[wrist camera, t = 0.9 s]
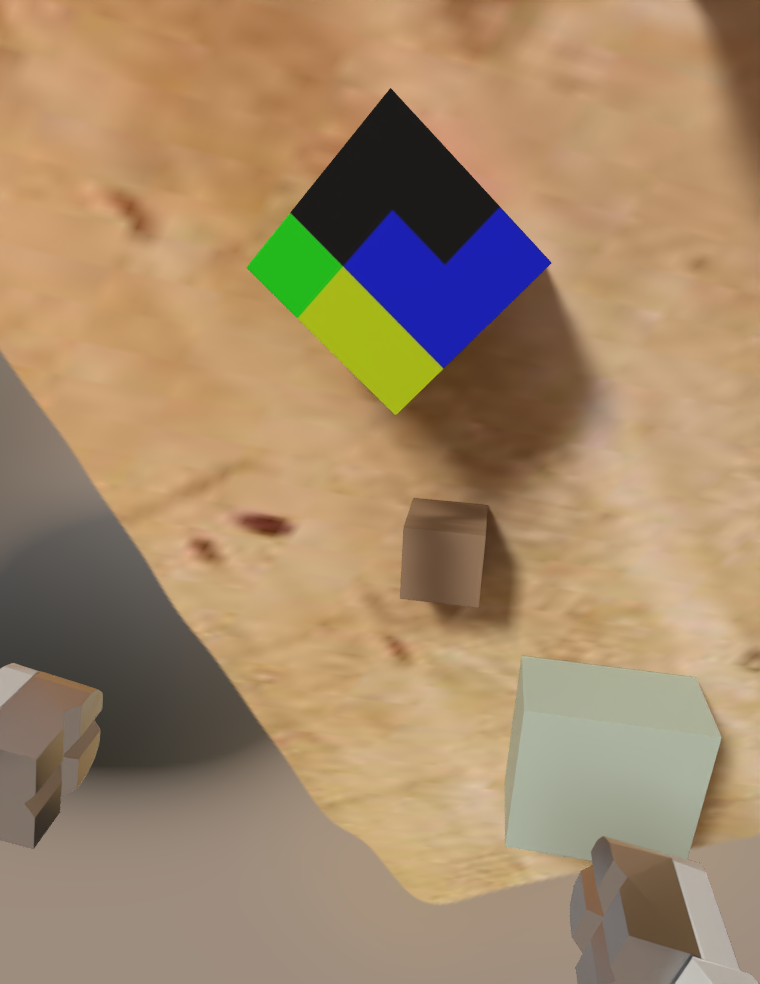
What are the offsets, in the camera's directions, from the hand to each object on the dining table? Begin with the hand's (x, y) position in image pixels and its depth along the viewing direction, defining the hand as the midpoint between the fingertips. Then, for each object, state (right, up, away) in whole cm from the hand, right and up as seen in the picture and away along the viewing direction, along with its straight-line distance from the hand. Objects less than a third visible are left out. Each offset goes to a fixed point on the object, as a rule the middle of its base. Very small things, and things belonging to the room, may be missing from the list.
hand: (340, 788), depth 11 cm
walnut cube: (+5, +2, +36) cm, 36 cm away
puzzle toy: (+3, +19, +29) cm, 35 cm away
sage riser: (+17, -13, +39) cm, 45 cm away
